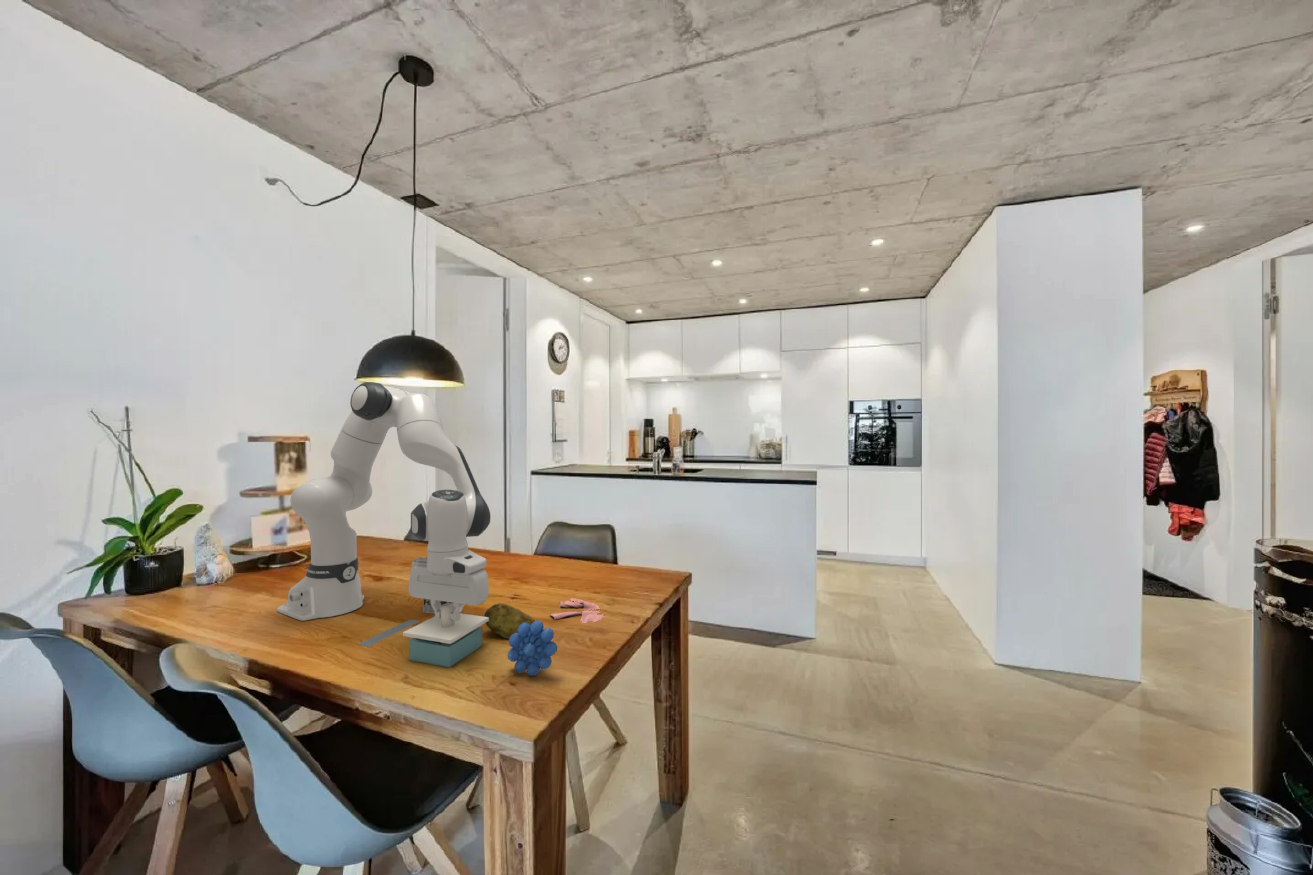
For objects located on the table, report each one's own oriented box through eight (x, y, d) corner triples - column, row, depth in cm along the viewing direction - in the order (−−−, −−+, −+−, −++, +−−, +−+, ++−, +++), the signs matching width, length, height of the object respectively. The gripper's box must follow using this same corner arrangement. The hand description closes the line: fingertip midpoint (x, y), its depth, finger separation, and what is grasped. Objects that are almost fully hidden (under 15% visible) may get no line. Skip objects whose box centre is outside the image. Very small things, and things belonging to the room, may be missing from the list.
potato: (519, 648, 113) (519, 615, 112) (478, 638, 118) (478, 607, 117) (540, 634, 120) (540, 603, 120) (501, 626, 125) (501, 596, 125)
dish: (409, 662, 105) (409, 640, 105) (444, 641, 116) (444, 621, 116) (449, 669, 102) (449, 647, 102) (482, 647, 112) (482, 627, 112)
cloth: (604, 628, 126) (604, 619, 126) (525, 626, 127) (525, 617, 127) (613, 601, 147) (613, 593, 147) (544, 599, 147) (545, 592, 147)
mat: (357, 645, 113) (357, 644, 113) (409, 620, 128) (409, 619, 128) (409, 655, 108) (409, 653, 108) (457, 628, 124) (457, 626, 124)
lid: (403, 635, 105) (403, 612, 104) (445, 614, 117) (445, 593, 117) (450, 643, 101) (450, 619, 101) (488, 620, 113) (488, 599, 113)
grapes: (565, 669, 102) (566, 615, 102) (551, 685, 96) (551, 627, 96) (518, 662, 105) (519, 609, 105) (501, 677, 99) (501, 621, 99)
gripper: (401, 559, 109) (401, 618, 109) (474, 567, 103) (474, 629, 103) (422, 553, 115) (422, 608, 115) (492, 560, 109) (492, 618, 109)
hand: (447, 618), depth 109 cm, fingers closed on lid, 3 cm apart
